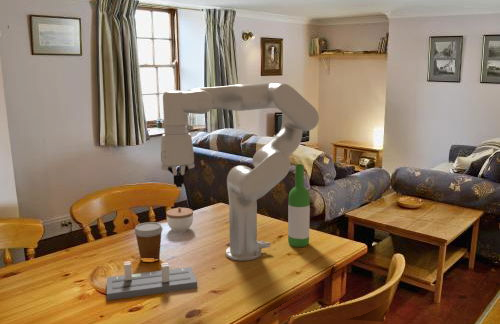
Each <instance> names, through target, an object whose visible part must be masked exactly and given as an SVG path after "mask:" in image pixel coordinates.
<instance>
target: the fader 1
mask: <svg viewBox="0 0 500 324" xmlns="http://www.w3.org/2000/svg"><path fill="white" fill-rule="evenodd" d="M123 266H124V267H123V270H124V271H123V272H124V275H125V281H126V280H132V274H133V273H132V272H133V271H132V261H131V260H130V261H129V260H127V261H123Z"/></svg>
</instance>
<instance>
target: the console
mask: <svg viewBox="0 0 500 324" xmlns="http://www.w3.org/2000/svg"><path fill="white" fill-rule="evenodd" d="M192 289H198V281H197V278H196V276H195V272H194V270H193V268H192V266H187V267H179V268H171V269H170V268H169V282H163V281H162V271H161V270H156V271H155V270H153V271H147V272H146V271H145V272H140V273H139V272H138V273H132V280H126V281H125V274H124V275H116V276H107V277H106V300H107V301H112V300H113V301H114V300H120V299H127V298H134V297H141V296H148V295H149V296H151V295H156V294H162V293H170V292H178V291H184V290H192Z"/></svg>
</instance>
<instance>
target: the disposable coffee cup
mask: <svg viewBox="0 0 500 324" xmlns="http://www.w3.org/2000/svg"><path fill="white" fill-rule="evenodd" d="M163 230H164V229H163V227H162V225H161V223H159V222H155V221H153V222H152V221H150V222H149V221H148V222H142V223H138V224H137V225H136V226H135V227H134V230H133V232H134V234H135V237H136V241H137V247H138V248H137V249H138V253H139V258H140V257H141V258H154V259H159V260H160V255H161V254H160V253H161V242H162V241H161V240H162V233H163ZM141 258H140V259H141Z"/></svg>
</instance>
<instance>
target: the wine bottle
mask: <svg viewBox="0 0 500 324" xmlns="http://www.w3.org/2000/svg"><path fill="white" fill-rule="evenodd" d="M304 167H305V165H304V164H295V174H294V175H295V177H294V182H295V183H294V187H293V188H292V189H290V191H289V194H288V210H287V211H288V214H287V215H288V217H287V218H288V222H287V240H288V244H289V245H290V246H292V247H295V248H303V247H306V246H308V245H309V242H310V221H311V220H310V217H311V216H310V214H311V208H310V207H311V205H310V203H311V199H310V198H311V196H310V192H309V191H308V189H307V188H306V187H305V186H304V185H305V183H304V176H305V175H304V174H305V171H304V169H305V168H304Z"/></svg>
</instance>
